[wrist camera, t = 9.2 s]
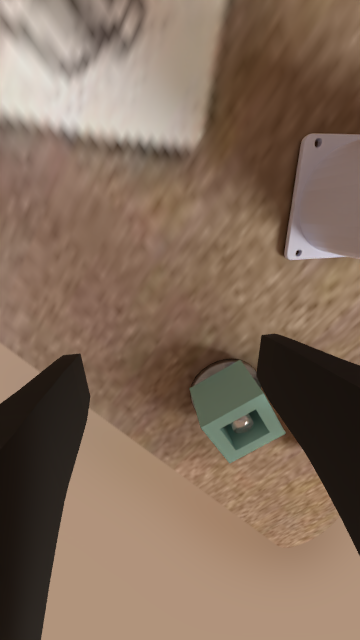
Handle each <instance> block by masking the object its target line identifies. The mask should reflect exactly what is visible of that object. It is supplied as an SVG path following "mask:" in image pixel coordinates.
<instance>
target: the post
mask: <svg viewBox="0 0 360 640" xmlns="http://www.w3.org/2000/svg"><path fill="white" fill-rule="evenodd" d="M237 361H239V360H237V359H226V360H221V361H218V362H215V363H213V364H211V365H209V366H207V367H206V368H204V369H203V370H202V371H201V372H200V373H199V374H198V375H197V377H196V378H195V380H194V381H193V383H192V386H191V387H193V386H195V385H196V384H198V383H200V382H202V381H203V380H205V379H207V378H209V377H210V376H212V375H214V374H216V373H217V372H219V371H221V370H223V369H225V368H226V367H228V366H230V365H232V364H233V363H235V362H237ZM242 363H243V364H244V366H245V367H246V369H247V370H248V371H249V373H250V374H251V376H252V377H253V379H254V380H255V381H256V383H257V384H258V386H259V387H260V389H261V384H260V382H259V380H258V378H257V376H256V374H257V372H256V371H255V369H254V368H253V367H252V366H251V365H250V364H248V363H246V362H244V361H242ZM190 395H191V392H190ZM191 400H192V404H193V406H194V403H193V399H192V396H191ZM194 408H195V406H194ZM195 410H196V409H195ZM230 424H231V427H232V429H233V431H234V432H236V433H245V432H247V431H249V430H250V429H251V428H252V426H253V420H252V418H251V417H250V415H249V413H248V414H246V415H245V416H243V417H241V418H239V419H237V420H235V421H234V422H232V423H230Z"/></svg>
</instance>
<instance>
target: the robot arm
mask: <svg viewBox="0 0 360 640" xmlns="http://www.w3.org/2000/svg"><path fill="white" fill-rule="evenodd" d="M315 140H317V141H318V145H317V147H315ZM297 250H299V253H298V255H296V251H297ZM284 256H285V258H286V259H289V260H298V259H316V258H333V257H352V258H357V259H360V134H316V133H312V134H309V135H307V136H305V137H304V138H303V140H302V142H301V146H300V153H299V160H298V166H297V173H296V179H295V186H294V192H293V199H292V205H291V212H290V218H289V225H288V232H287V238H286V245H285V251H284ZM256 376H257V378H258V380H259V382H260V384H261V387H262V389H263V390H264V392H265V394H266V396H267V398H268V399H269V401H270V402H271V404H272V405H273V407H274V408H275V410H276V411H277V412H278V414H279V415H280V417H281V418H282V420H283V421H284V423H285V424H286V425H287V427H288V428H289V430H290V431H291V433H292V434H293V436H294V437H295V438H296V440H297V441H298V443H299V444H300V446H301V447H302V449H303V450H304V452H305V453H306V455H307V457H308V458H309V460H310V462H311V464H312V465H313V467H314V469H315V471H316V472H317V474H318V476H319V478H320V479H321V481H322V483H323V485H324V487H325V489H326V490H327V492H328V494H329V496H330V498H331V500H332V502H333V504H334V506H335V507H336V509H337V511H338V513H339V515H340V517H341V519H342V521H343V523H344V525H345V527H346V529H347V531H348V533H349V535H350V537H351V539H352V541H353V543H354V545H355V547H356V549H357V551H358V553H359V555H360V366H359V365H357V364H354V363H351V362H348V361H346V360H343V359H340V358H338V357H335V356H332V355H330V354H327V353H325V352H322V351H320V350H317V349H315V348H312V347H310V346H307V345H305V344H303V343H300V342H298V341H295V340H292V339H290V338H287V337H284V336H281V335H278V334H269V335H262V336H261V344H260V351H259V359H258V366H257V374H256ZM89 402H90V393H89V389H88V384H87V380H86V376H85V371H84V367H83V363H82V358H81V354H72V355H63V356H62V357H60V358H59V359H57V360H56V361H55V362H53V363H52V364H51V365H50V366H48V367H47V368H46V369H45V370H43V371H42V372H41V373H40V374H39V375H37V376H36V377H35V378H34V379H32V380H31V381H30V382H29V383H27V384H26V385H25V386H23V387H22V388H21V389H20V390H18V391H17V392H16V393H15V394H13V395H12V396H10V397H9V398H8V399H6V400H5V401H3V402H2V403H1V404H0V640H41V635H42V628H43V622H44V615H45V609H46V603H47V597H48V589H49V584H50V578H51V572H52V566H53V561H54V555H55V549H56V543H57V538H58V532H59V527H60V522H61V517H62V511H63V506H64V501H65V497H66V493H67V488H68V485H69V481H70V478H71V474H72V471H73V467H74V464H75V460H76V457H77V454H78V450H79V446H80V443H81V440H82V436H83V433H84V429H85V425H86V421H87V416H88V409H89Z"/></svg>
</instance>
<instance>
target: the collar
mask: <svg viewBox="0 0 360 640" xmlns="http://www.w3.org/2000/svg"><path fill="white" fill-rule="evenodd" d="M189 389H190V392H191V396H192V399H193V403H194V406H195V409H196V413H197V416H198V420H199V423H200V427H201V429H202V430H203V431H204V432H205V434H206V435H207V436H208V437H209V439H210V440H211V441H212V442H213V444H214V445H215V446H216V447H217V448H218V450H219V451H220V452H221V453H222V455H223V456H224V457H225V458H226V460H227V461H228V462H229V463H232V462H233V461H235V460H237V459H239V458H241V457H243V456H245V455H247V454H248V453H250V452H252V451H254V450H256V449H258V448H260V447H262V446H263V445H265V444H267V443H269V442H271V441H273V440H275V439H277V438H279V437H280V436H282V435H284V434H286V433H285V431H284V429H283V427H282V426H281V424H280V422H279V420H278V418H277V416H276V415H275V413H274V411H273V409H272V407H271V406H270V404H269V402H268V400H267V398H266V396H265V395H264V393H263V391H262V390H261V389H260V387H259V386H258V384H257V383H256V381H255V380H254V379H253V377H252V376H251V374H250V373H249V371H248V370H247V369H246V367H245V366H244V364H243V363H242V361H241V360H239V361H237V362H235V363H233V364H232V365H230V366H228V367H226V368H225V369H223V370H221V371H219V372H217V373H216V374H214V375H212V376H210V377H209V378H207V379H205V380H203V381H202V382H200V383H198V384H196V385H195V386H193V387H191V388H189ZM248 413H249V415H250V417H251V418H252V420H253V426H252V428H251V429H250V430H249V431H247V432H245V433H236V432H234V431H233V429H232V427H231V424H230V423H232V422H234V421H235V420H237V419H239V418H241V417H243V416H245V415H246V414H248Z"/></svg>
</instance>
